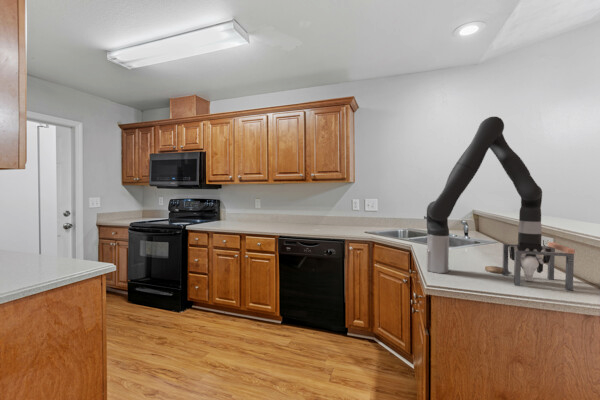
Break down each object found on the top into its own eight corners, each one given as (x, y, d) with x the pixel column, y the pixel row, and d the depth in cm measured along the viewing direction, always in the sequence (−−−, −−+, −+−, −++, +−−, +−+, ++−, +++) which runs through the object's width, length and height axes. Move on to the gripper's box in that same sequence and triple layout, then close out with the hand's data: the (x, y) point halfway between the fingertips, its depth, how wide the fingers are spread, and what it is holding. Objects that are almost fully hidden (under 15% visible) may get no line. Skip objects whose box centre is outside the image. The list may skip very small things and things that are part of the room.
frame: (515, 285, 112) (516, 250, 111) (502, 274, 127) (503, 243, 126) (572, 291, 105) (573, 254, 105) (552, 278, 120) (552, 246, 120)
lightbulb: (542, 284, 113) (542, 257, 113) (524, 283, 114) (524, 256, 114) (532, 279, 119) (533, 254, 119) (515, 278, 120) (516, 253, 120)
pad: (487, 272, 129) (487, 270, 129) (482, 267, 138) (482, 265, 137) (511, 274, 126) (511, 272, 126) (504, 269, 134) (504, 267, 134)
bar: (567, 253, 106) (567, 249, 105) (547, 245, 120) (547, 242, 120) (574, 253, 105) (574, 249, 105) (553, 246, 120) (553, 242, 120)
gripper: (512, 232, 115) (511, 272, 116) (555, 234, 110) (554, 275, 111) (506, 229, 122) (505, 267, 123) (547, 231, 117) (546, 270, 118)
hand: (528, 271), depth 117 cm, fingers closed on lightbulb, 6 cm apart
